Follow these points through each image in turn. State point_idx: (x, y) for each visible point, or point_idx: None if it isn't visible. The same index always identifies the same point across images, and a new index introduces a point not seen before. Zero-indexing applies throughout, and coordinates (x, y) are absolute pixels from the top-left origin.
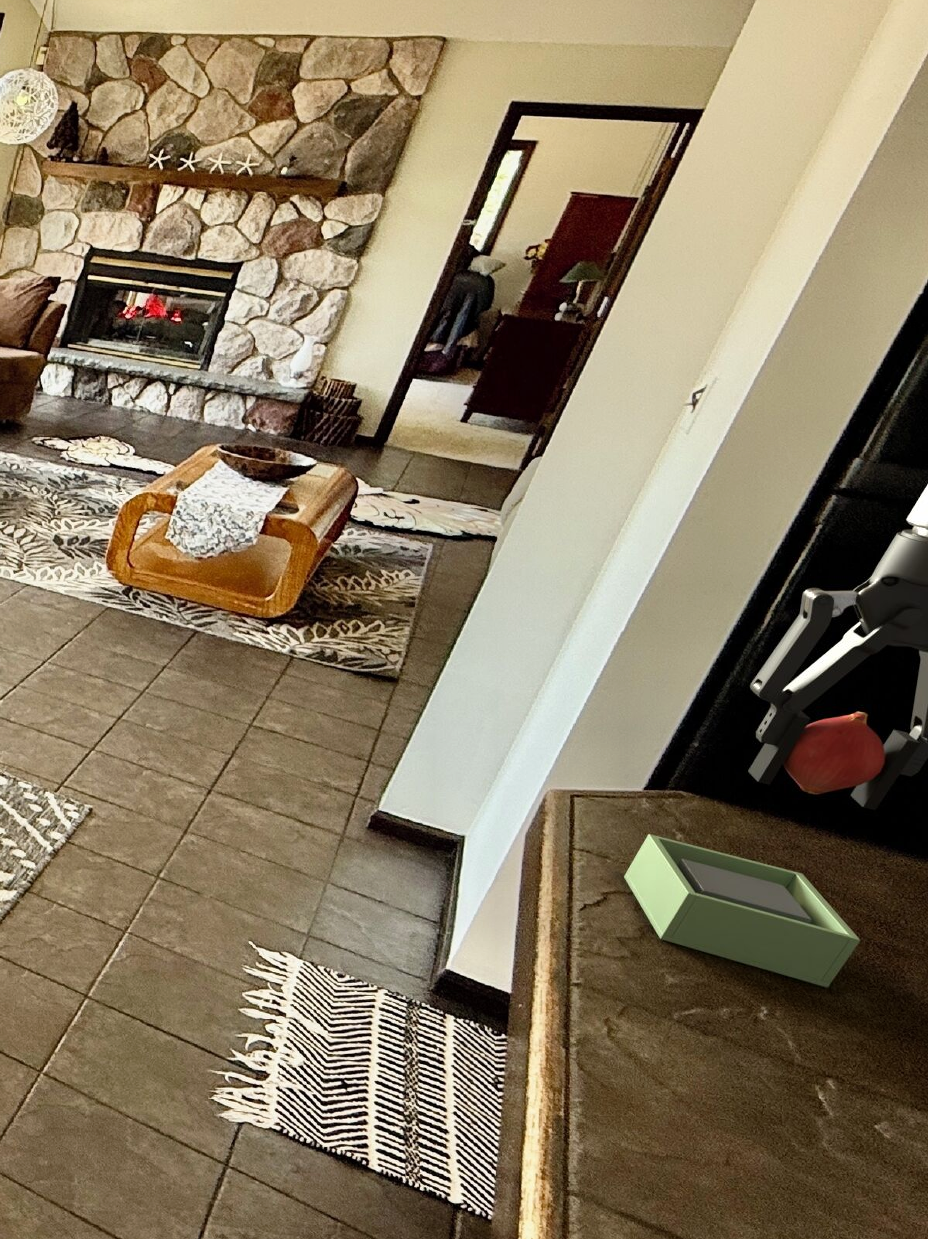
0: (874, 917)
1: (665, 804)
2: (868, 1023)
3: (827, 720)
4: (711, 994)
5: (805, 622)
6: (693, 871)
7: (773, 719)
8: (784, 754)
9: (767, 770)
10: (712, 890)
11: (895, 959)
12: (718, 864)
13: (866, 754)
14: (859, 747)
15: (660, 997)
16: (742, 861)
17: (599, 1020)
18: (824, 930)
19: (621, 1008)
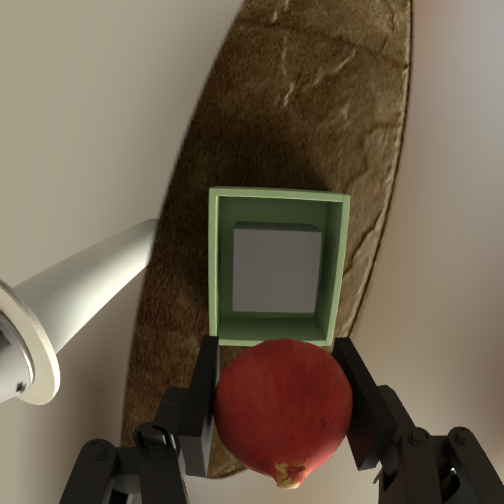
0: (142, 369)
1: (235, 464)
2: (206, 133)
3: (327, 457)
4: (320, 102)
5: None
6: (315, 281)
7: (408, 417)
8: (357, 371)
9: (353, 349)
10: (313, 238)
11: (144, 297)
12: (272, 334)
13: (267, 383)
14: (285, 394)
15: (358, 74)
16: (258, 339)
17: (396, 27)
18: (237, 189)
19: (384, 46)
